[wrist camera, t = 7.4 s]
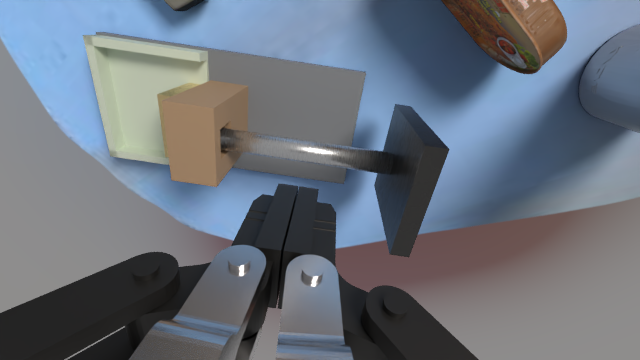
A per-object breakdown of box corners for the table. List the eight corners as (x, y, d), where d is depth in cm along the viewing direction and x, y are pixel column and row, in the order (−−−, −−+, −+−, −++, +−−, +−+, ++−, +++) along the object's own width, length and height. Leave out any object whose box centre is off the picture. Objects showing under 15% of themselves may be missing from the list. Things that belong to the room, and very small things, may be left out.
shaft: (410, 106, 28) (449, 149, 18) (387, 187, 32) (409, 257, 22) (213, 76, 27) (145, 103, 18) (217, 162, 32) (163, 221, 22)
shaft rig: (365, 71, 30) (376, 91, 21) (343, 180, 36) (345, 233, 27) (103, 32, 30) (-5, 34, 21) (126, 148, 36) (51, 190, 27)
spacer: (207, 85, 30) (179, 97, 25) (210, 138, 33) (185, 159, 28) (188, 82, 30) (157, 94, 25) (193, 136, 33) (165, 156, 28)
